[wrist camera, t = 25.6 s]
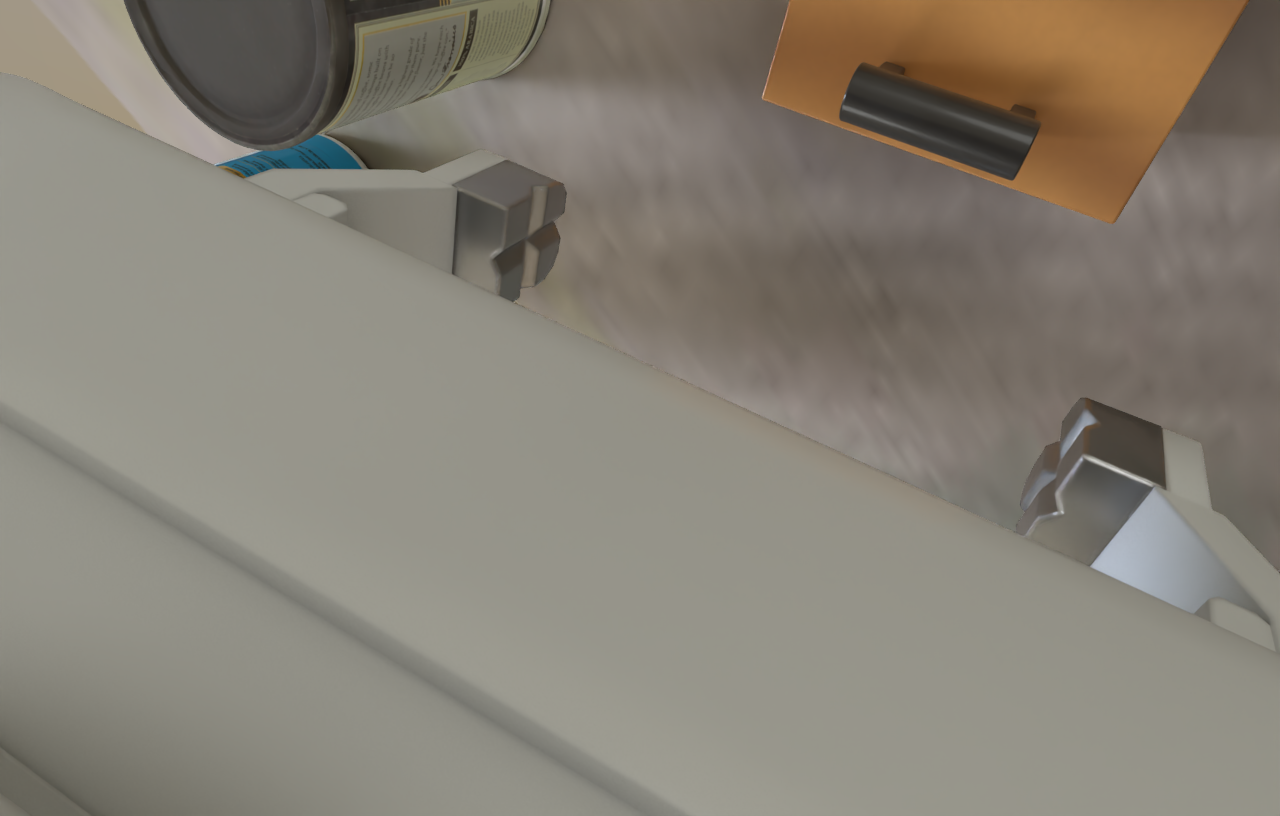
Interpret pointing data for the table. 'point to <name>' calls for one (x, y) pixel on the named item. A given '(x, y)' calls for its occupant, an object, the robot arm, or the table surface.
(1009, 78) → the lid
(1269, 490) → the table surface
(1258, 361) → the table surface
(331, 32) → the coffee can
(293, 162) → the beverage bottle
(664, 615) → the robot arm
